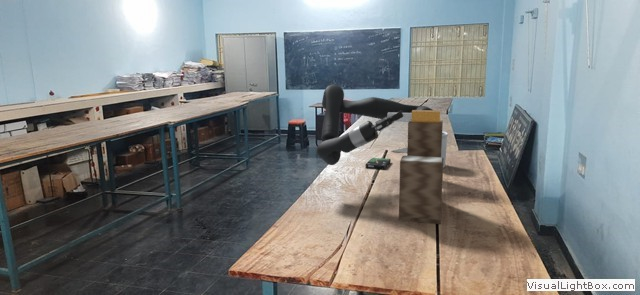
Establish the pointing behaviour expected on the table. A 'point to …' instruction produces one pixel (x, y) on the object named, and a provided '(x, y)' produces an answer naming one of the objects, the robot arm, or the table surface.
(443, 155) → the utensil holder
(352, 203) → the table surface
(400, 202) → the zigzag patterned block
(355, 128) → the robot arm
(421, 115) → the bar
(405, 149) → the paper plane
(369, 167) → the disk drive
